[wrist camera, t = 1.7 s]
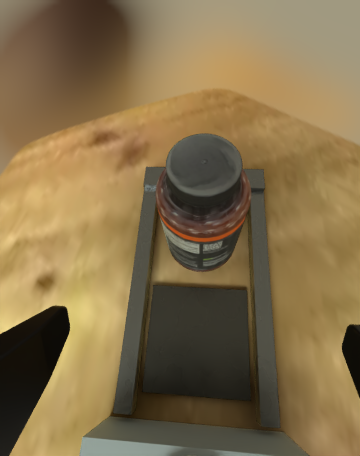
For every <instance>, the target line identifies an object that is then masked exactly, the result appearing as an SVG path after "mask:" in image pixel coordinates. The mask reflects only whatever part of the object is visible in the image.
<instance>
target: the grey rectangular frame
mask: <svg viewBox="0 0 360 456" xmlns="http://www.w3.org/2000/svg"><path fill="white" fill-rule="evenodd" d="M165 168H166V167H146V171H145V178H144V195H143V202H142V209H141V217H140V224H139V231H138V238H137V245H136V253H135V260H134V267H133V274H132V281H131V288H130V296H129V303H128V310H127V317H126V324H125V331H124V339H123V346H122V353H121V360H120V367H119V374H118V382H117V389H116V396H115V403H114V410H113V413H117V414H128V415H131V414H132V413H133V412H134V411H135V410H136V401H137V392H138V383H139V374H140V365H141V356H142V347H143V338H144V330H145V321H146V312H147V303H148V294H149V285H150V276H151V267H152V258H153V249H154V240H155V231H156V222H157V213H158V208H157V204H156V196H155V194H156V185H157V182H158V179H159V177H160V174H161V173H162V171H163V170H164V169H165ZM243 170H244V172H245V173H246V175H247V177H248V180H249V183H250V186H251V202H250V206H249V209H248V235H249V259H250V284H251V308H252V332H253V356H254V380H255V404H256V421H257V422H258V423H259V425H260V426H261V427H273V428H280V415H279V401H278V387H277V373H276V359H275V345H274V331H273V317H272V303H271V289H270V275H269V261H268V247H267V233H266V219H265V205H264V189H265V183H264V170H262V169H243ZM142 392H151V393H163V394H175V395H187V396H199V397H211V398H223V399H235V400H247V401H251V397H250V368H249V340H248V312H247V290H231V289H213V288H195V287H176V286H158V285H153V294H152V303H151V313H150V322H149V332H148V341H147V351H146V360H145V370H144V379H143V389H142Z"/></svg>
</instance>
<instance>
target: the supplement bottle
mask: <svg viewBox="0 0 360 456" xmlns="http://www.w3.org/2000/svg"><path fill="white" fill-rule="evenodd" d="M155 196H156V204H157V208H158V211H159V215H160V219H161V222H162V226H163V229H164V233H165V236H166V240H167V243H168V246H169V249H170V252H171V254H172V256H173V257H174V259H175V260H176V261H177V262H178V263H179V264H181V265H182V266H183V267H185V268H187V269H190V270H192V271H197V272H200V271H201V272H204V271H211V270H214V269H216V268H219V267H220V266H222V265H223V264H225V263H226V262H227V260H228V259H229V258H230V256H231V255H232V253H233V250H234V248H235V245H236V242H237V240H238V237H239V234H240V231H241V228H242V226H243V223H244V220H245V217H246V214H247V212H248V209H249V206H250V202H251V186H250V183H249V180H248V177H247V175H246V173H245V172H244V170H243V169H242V159H241V156H240V153H239V151H238V150H237V149H236V147H235V146H234V145H233V144H232V143H231V142H229V141H228V140H226V139H224V138H223V137H220V136H217V135H213V134H196V135H192V136H189V137H186V138H184V139H182V140H181V141H179V142H178V143H177V144H176V145H174V146H173V148H172V149H171V150H170V152H169V154H168V157H167V160H166V168H165V169H164V170H163V171H162V173H161V174H160V177H159V179H158V182H157V185H156V194H155Z"/></svg>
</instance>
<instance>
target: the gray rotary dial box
mask: <svg viewBox="0 0 360 456" xmlns="http://www.w3.org/2000/svg"><path fill="white" fill-rule="evenodd" d="M79 456H309V455H308V454H307V453H306V452H305V451H304V450H303V449H302V448H300V447H299V446H298V445H297V444H296V443H295V442H294V441H293V440H292V439H291V438H290V437H288V436H287V435H286V434H285V433H284V432H277V431H266V430H255V429H244V428H233V427H222V426H211V425H200V424H189V423H178V422H167V421H156V420H145V419H134V418H123V417H112V416H109V417H108V418H107V419H105V420H104V421H103V422H101V423H100V424H99V425H98V426H96V427H95V428H94V429H92V430H91V431H90V432H89V433H87V434H86V435H85V436H83V438H82V444H81V450H80V455H79Z"/></svg>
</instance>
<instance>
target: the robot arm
mask: <svg viewBox="0 0 360 456" xmlns="http://www.w3.org/2000/svg"><path fill="white" fill-rule="evenodd" d="M69 331H70V323H69V317H68V311H67V308H66V307H65V306H52V307H50V308H48V309H46V310H44V311H42V312H41V313H39V314H37V315H35V316H33V317H31V318H29V319H28V320H26V321H24V322H22V323H20V324H18V325H16V326H15V327H13V328H11V329H9V330H7V331H5V332H3V333H2V334H0V456H9V455H10V453H11V451H12V449H13V448H14V446H15V444H16V442H17V440H18V438H19V436H20V434H21V433H22V431H23V429H24V427H25V425H26V423H27V421H28V419H29V418H30V416H31V414H32V412H33V410H34V408H35V406H36V404H37V403H38V401H39V399H40V397H41V395H42V393H43V391H44V389H45V388H46V386H47V384H48V382H49V380H50V378H51V375H52V373H53V371H54V369H55V366H56V364H57V361H58V359H59V356H60V354H61V352H62V349H63V347H64V344H65V342H66V339H67V337H68V335H69ZM342 352H343V355H344V358H345V360H346V363H347V366H348V368H349V371H350V374H351V377H352V379H353V382H354V385H355V387H356V390H357V393H358V395H359V398H360V325H354V324H351V325H349V326H348V327H347V329H346V333H345V336H344V340H343V343H342Z"/></svg>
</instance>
